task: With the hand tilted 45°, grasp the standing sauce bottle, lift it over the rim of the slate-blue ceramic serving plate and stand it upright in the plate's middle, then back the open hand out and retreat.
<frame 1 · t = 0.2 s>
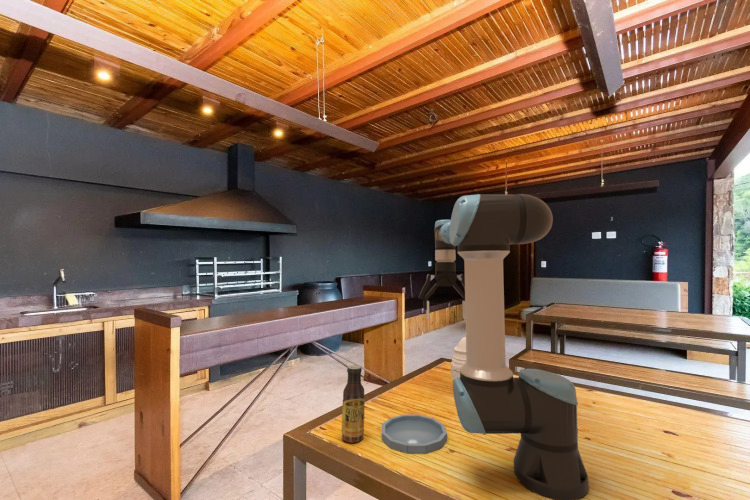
hand: (446, 318, 128), 28 cm above the table, tool pointing down, fingers open, 13 cm apart
sauce bottle: (353, 439, 97), on the table
honey pot: (466, 377, 147), on the table
serving plate: (413, 435, 98), on the table
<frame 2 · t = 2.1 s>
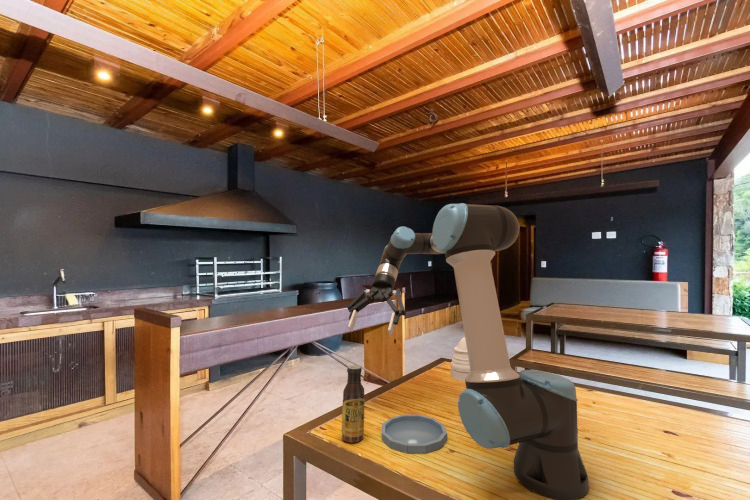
hand: (369, 330, 109), 28 cm above the table, tool tilted 45°, fingers open, 13 cm apart
nothing on the table moved.
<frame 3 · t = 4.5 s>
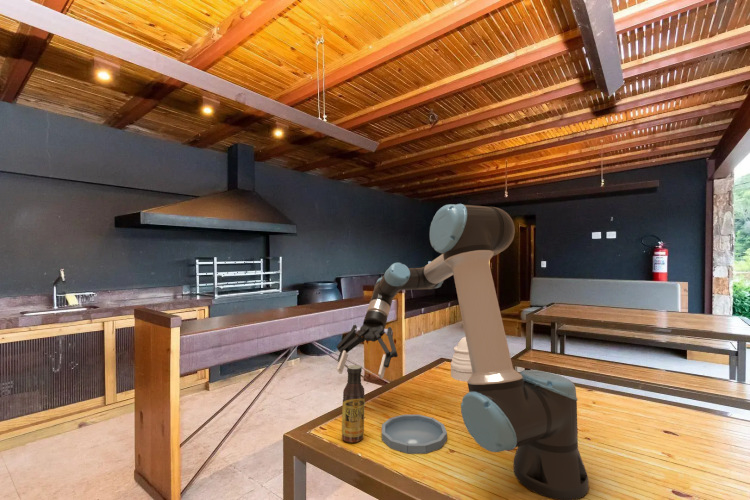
hand: (359, 374, 104), 16 cm above the table, tool tilted 45°, fingers open, 13 cm apart
nothing on the table moved.
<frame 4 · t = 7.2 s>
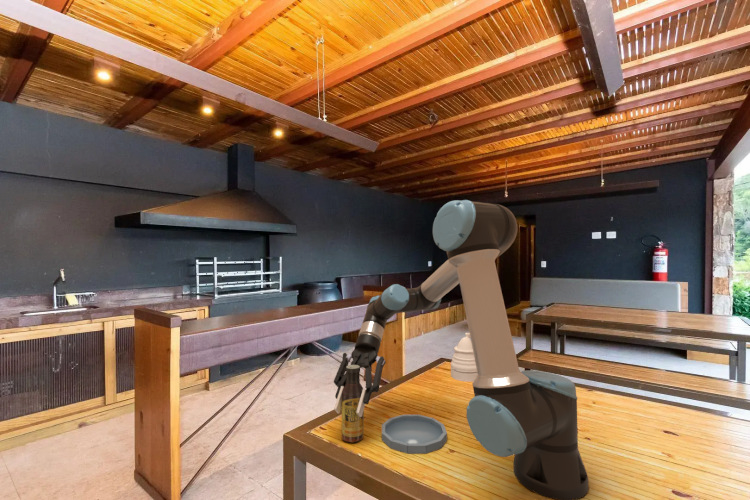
hand: (347, 412, 94), 8 cm above the table, tool tilted 45°, fingers closed on sauce bottle, 6 cm apart
sauce bottle: (353, 438, 97), on the table, touching gripper
everything else where it was.
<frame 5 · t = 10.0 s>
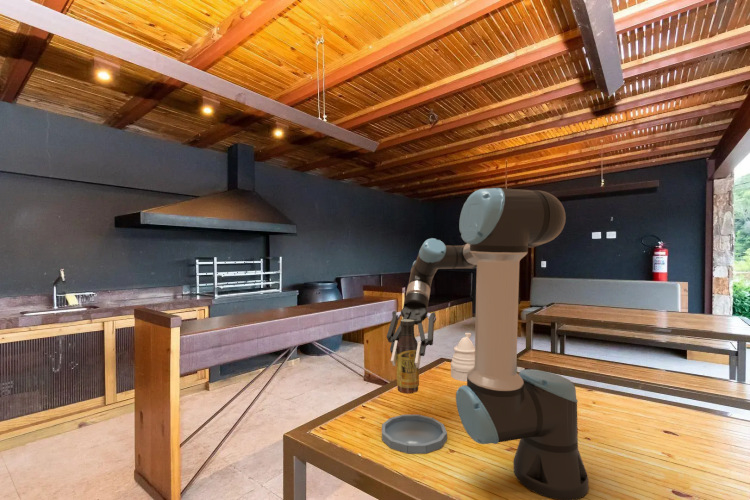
hand: (404, 364, 95), 21 cm above the table, tool tilted 45°, fingers closed on sauce bottle, 6 cm apart
sauce bottle: (408, 391, 98), point 13 cm above the table, touching gripper
everything else where it was.
when the fingers open (11 cm above the table, at t = 13.1 s): sauce bottle drops 1 cm, resting on serving plate.
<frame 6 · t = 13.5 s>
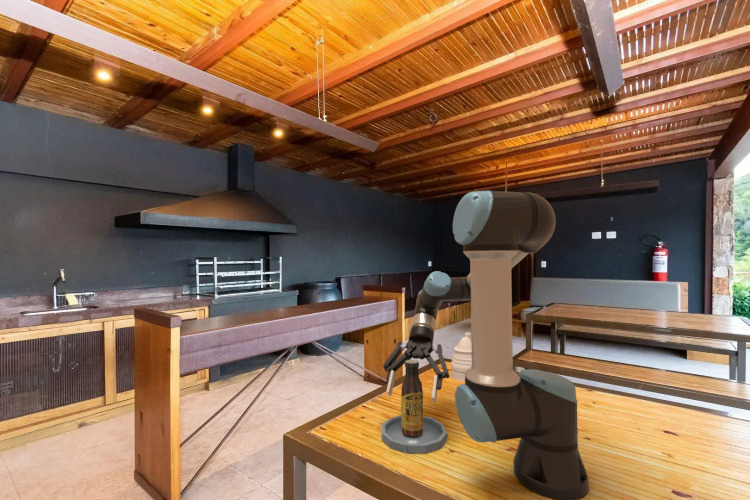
hand: (410, 397, 96), 12 cm above the table, tool tilted 45°, fingers open, 12 cm apart
sauce bottle: (413, 433, 98), point 1 cm above the table, touching serving plate
everything else where it was.
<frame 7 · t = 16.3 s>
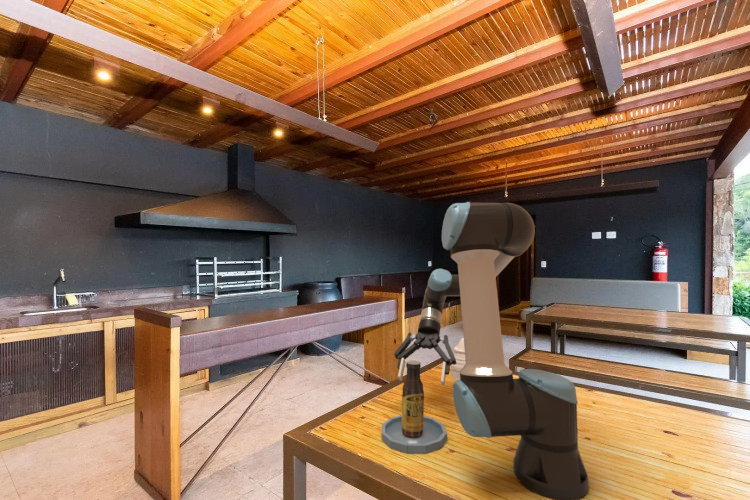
hand: (420, 381, 107), 12 cm above the table, tool tilted 45°, fingers open, 13 cm apart
nothing on the table moved.
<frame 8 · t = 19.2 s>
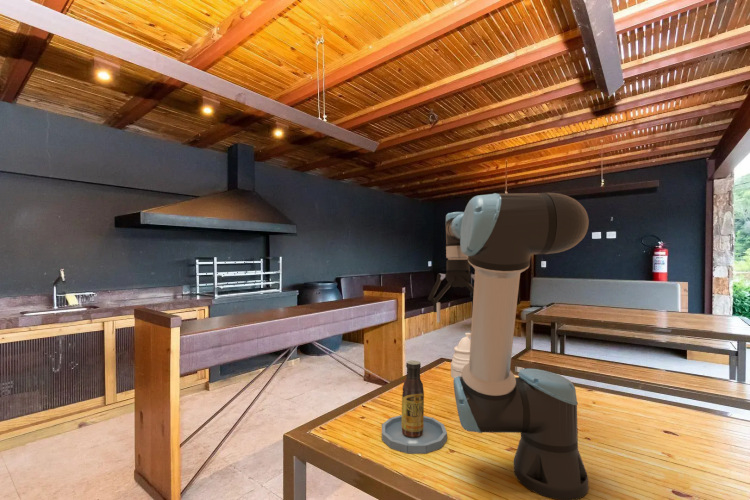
hand: (459, 323, 114), 29 cm above the table, tool pointing down, fingers open, 13 cm apart
nothing on the table moved.
at the end: sauce bottle inside the target area on the serving plate (0.2 cm from its centre), point 0.6 cm above the serving plate's base; sauce bottle tilted 0°; the gripper is holding nothing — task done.
